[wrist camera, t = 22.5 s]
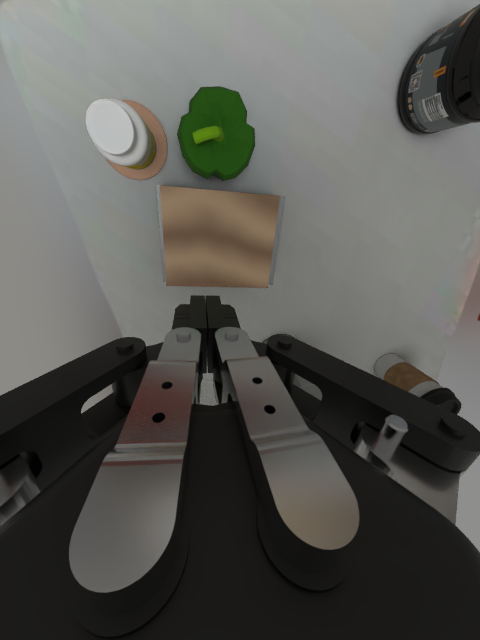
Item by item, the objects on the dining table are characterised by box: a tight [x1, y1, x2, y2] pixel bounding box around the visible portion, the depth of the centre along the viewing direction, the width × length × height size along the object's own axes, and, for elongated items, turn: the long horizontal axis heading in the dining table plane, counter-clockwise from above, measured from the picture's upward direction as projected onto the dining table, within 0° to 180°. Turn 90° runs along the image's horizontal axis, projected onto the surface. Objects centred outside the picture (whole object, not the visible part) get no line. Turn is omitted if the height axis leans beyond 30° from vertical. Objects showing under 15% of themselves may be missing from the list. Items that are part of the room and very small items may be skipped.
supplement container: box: [399, 4, 480, 134], centre depth 27 cm, size 10×10×12 cm
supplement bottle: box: [86, 99, 156, 170], centre depth 26 cm, size 5×5×10 cm
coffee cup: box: [374, 353, 461, 415], centre depth 50 cm, size 8×8×15 cm
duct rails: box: [156, 185, 285, 285], centre depth 35 cm, size 12×16×5 cm
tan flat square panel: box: [160, 185, 280, 288], centre depth 32 cm, size 12×14×1 cm
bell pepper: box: [177, 87, 255, 180], centre depth 27 cm, size 8×8×10 cm
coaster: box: [106, 100, 167, 180], centre depth 30 cm, size 8×8×1 cm
